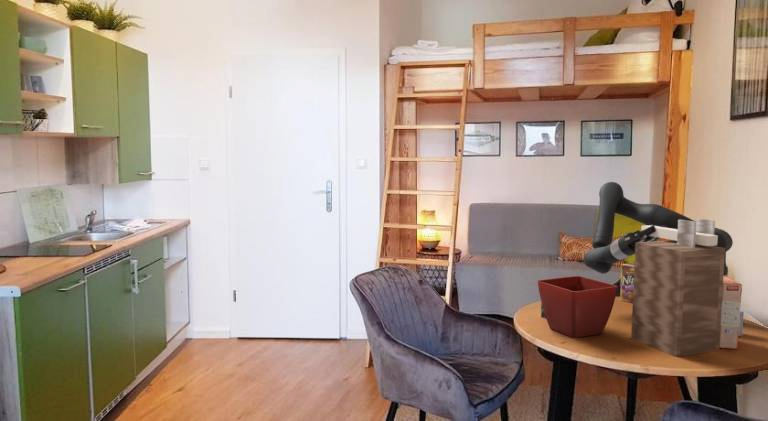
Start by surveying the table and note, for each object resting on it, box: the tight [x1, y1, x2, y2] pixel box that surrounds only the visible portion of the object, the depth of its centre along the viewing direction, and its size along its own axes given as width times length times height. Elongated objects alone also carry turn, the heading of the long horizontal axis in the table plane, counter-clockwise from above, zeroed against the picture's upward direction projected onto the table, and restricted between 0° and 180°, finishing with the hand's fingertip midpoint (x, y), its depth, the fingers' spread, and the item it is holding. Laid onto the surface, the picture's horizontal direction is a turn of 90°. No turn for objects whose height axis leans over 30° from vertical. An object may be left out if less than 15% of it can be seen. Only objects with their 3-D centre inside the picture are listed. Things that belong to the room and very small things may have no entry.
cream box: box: [640, 225, 718, 246], centre depth 188 cm, size 26×4×3 cm, turn 20°
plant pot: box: [537, 275, 619, 338], centre depth 198 cm, size 19×19×17 cm
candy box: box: [619, 263, 635, 304], centre depth 238 cm, size 9×4×15 cm, turn 35°
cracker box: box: [719, 276, 743, 350], centre depth 187 cm, size 14×6×21 cm, turn 170°
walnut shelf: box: [630, 218, 725, 357], centre depth 184 cm, size 18×18×40 cm
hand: (659, 228), depth 195 cm, fingers closed on cream box, 4 cm apart
